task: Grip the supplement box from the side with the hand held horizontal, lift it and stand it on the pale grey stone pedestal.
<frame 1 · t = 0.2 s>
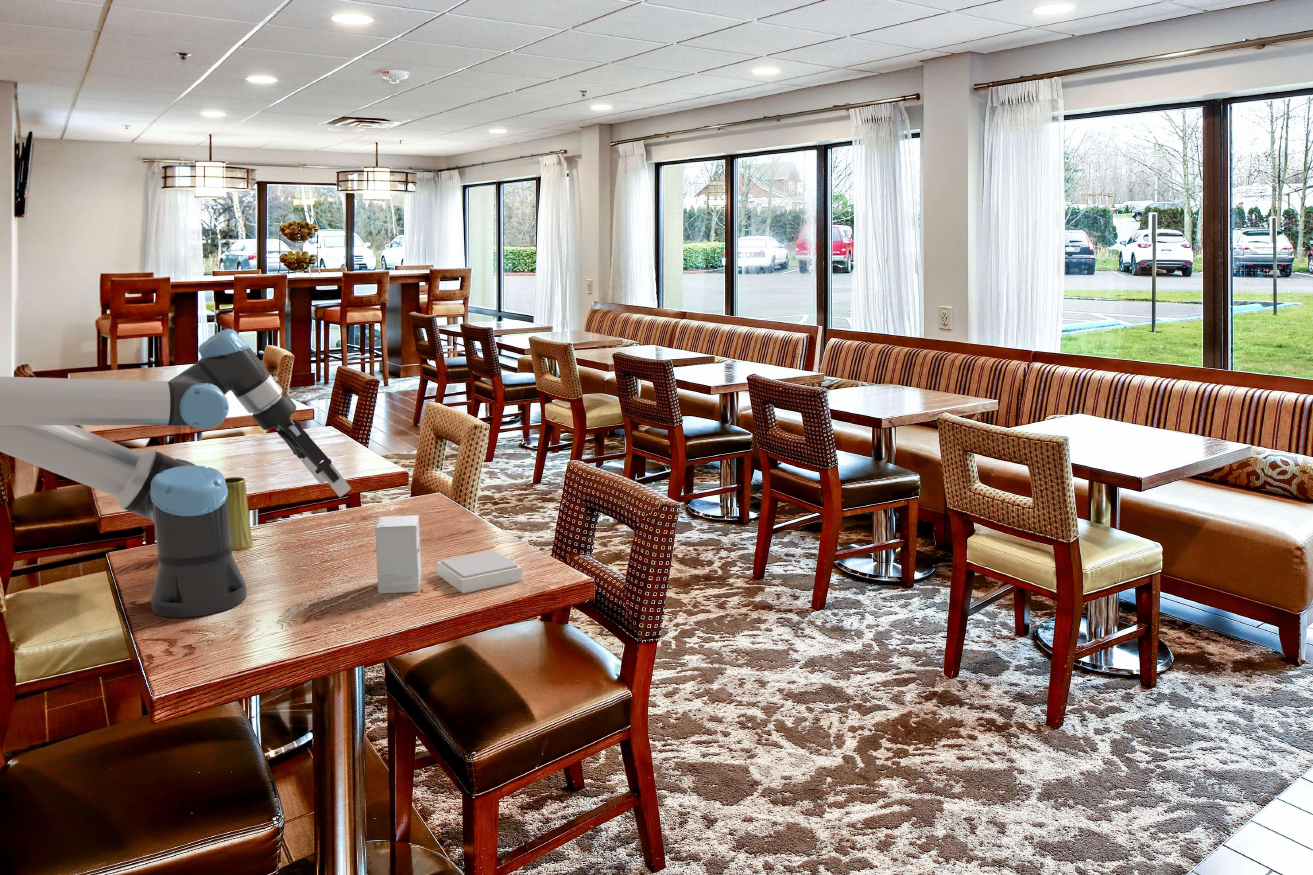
hand: (335, 486, 189), 14 cm above the table, tool tilted 35°, fingers open, 13 cm apart
pedestal: (479, 577, 179), on the table
vase: (237, 547, 197), on the table
supplement box: (400, 587, 175), on the table
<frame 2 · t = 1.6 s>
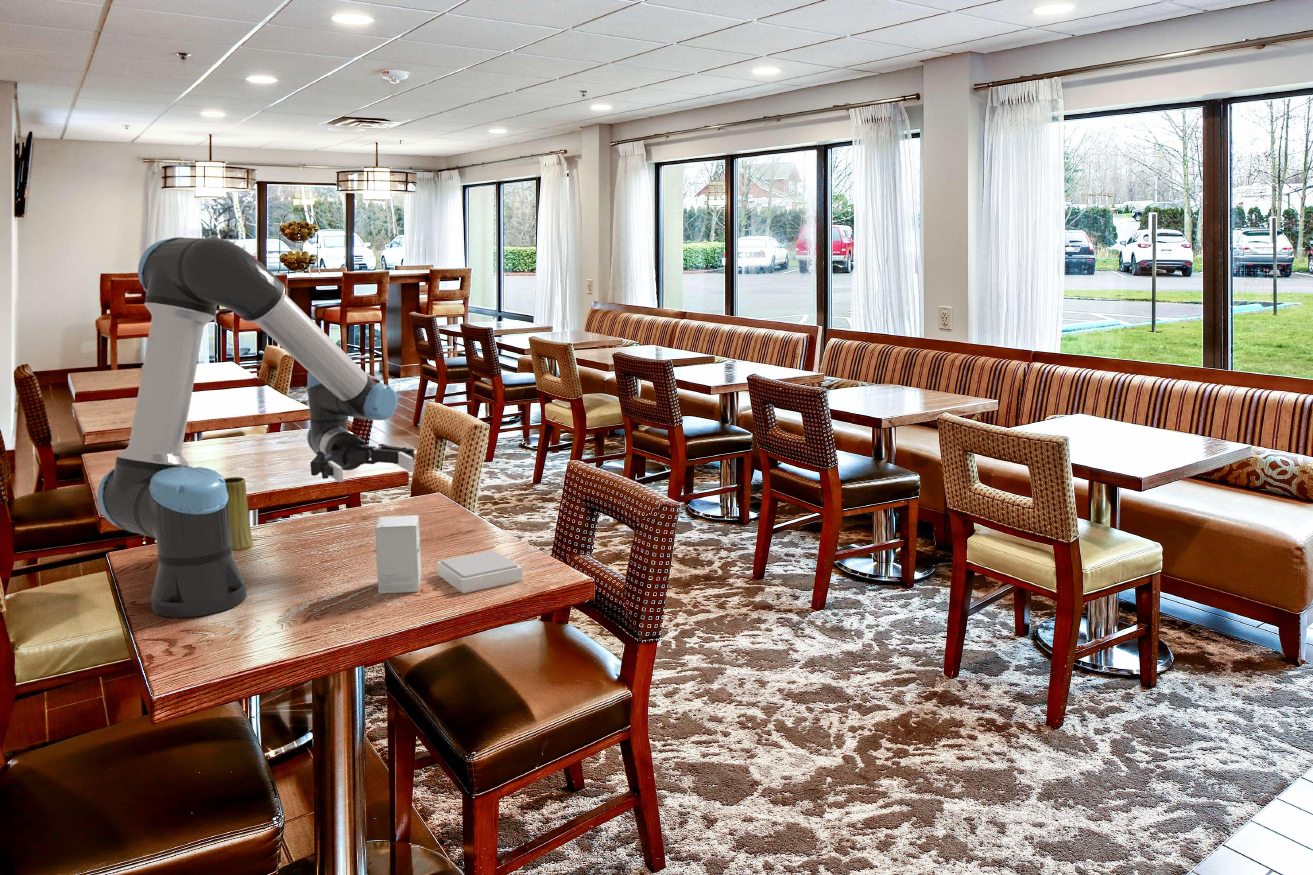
hand: (377, 469, 178), 20 cm above the table, tool horizontal, fingers open, 13 cm apart
nothing on the table moved.
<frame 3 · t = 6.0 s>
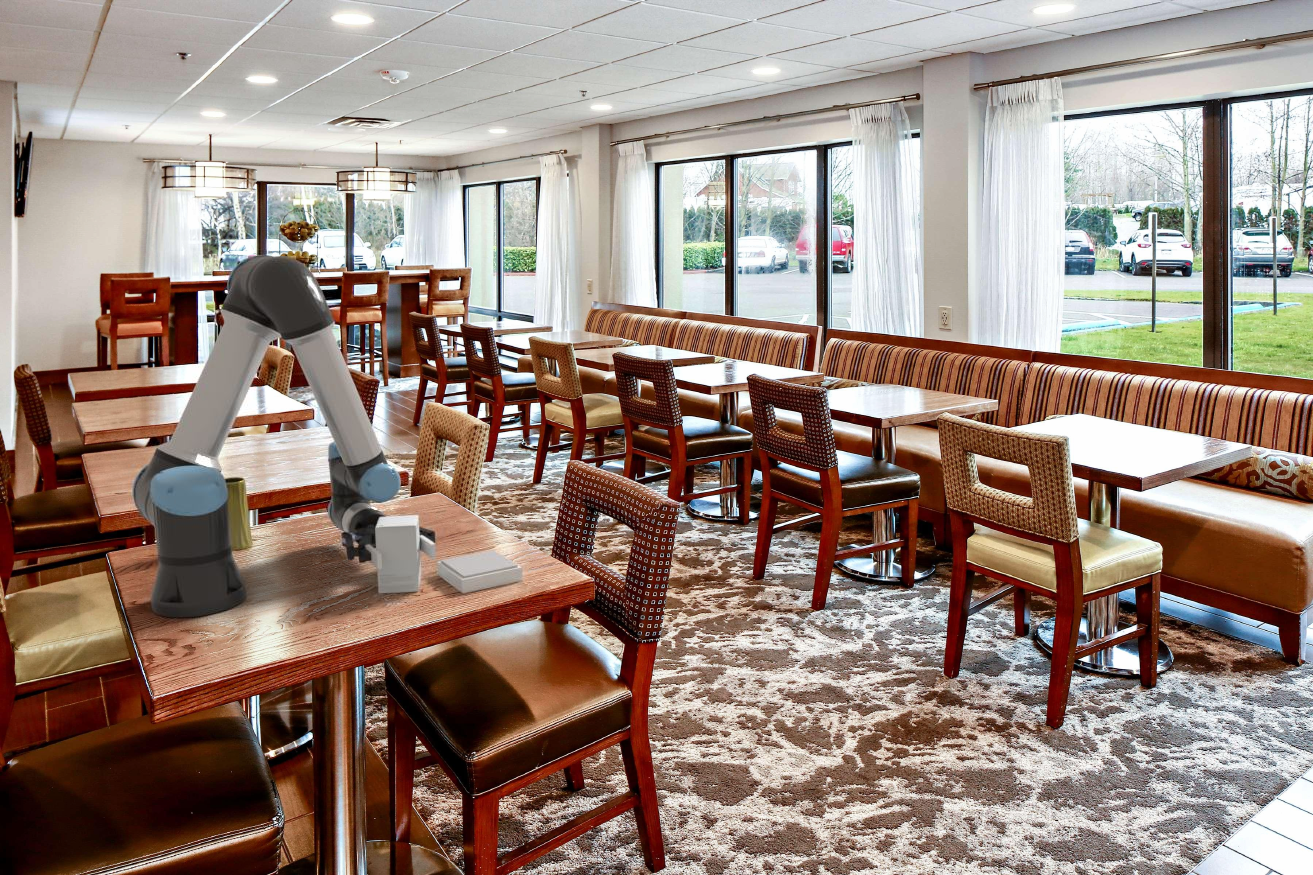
hand: (407, 556, 170), 7 cm above the table, tool horizontal, fingers closed on supplement box, 9 cm apart
supplement box: (400, 587, 175), on the table, touching gripper
everything else where it was.
when the fingers open (11 cm above the table, at t = 10.9 s): supplement box drops 1 cm, resting on pedestal.
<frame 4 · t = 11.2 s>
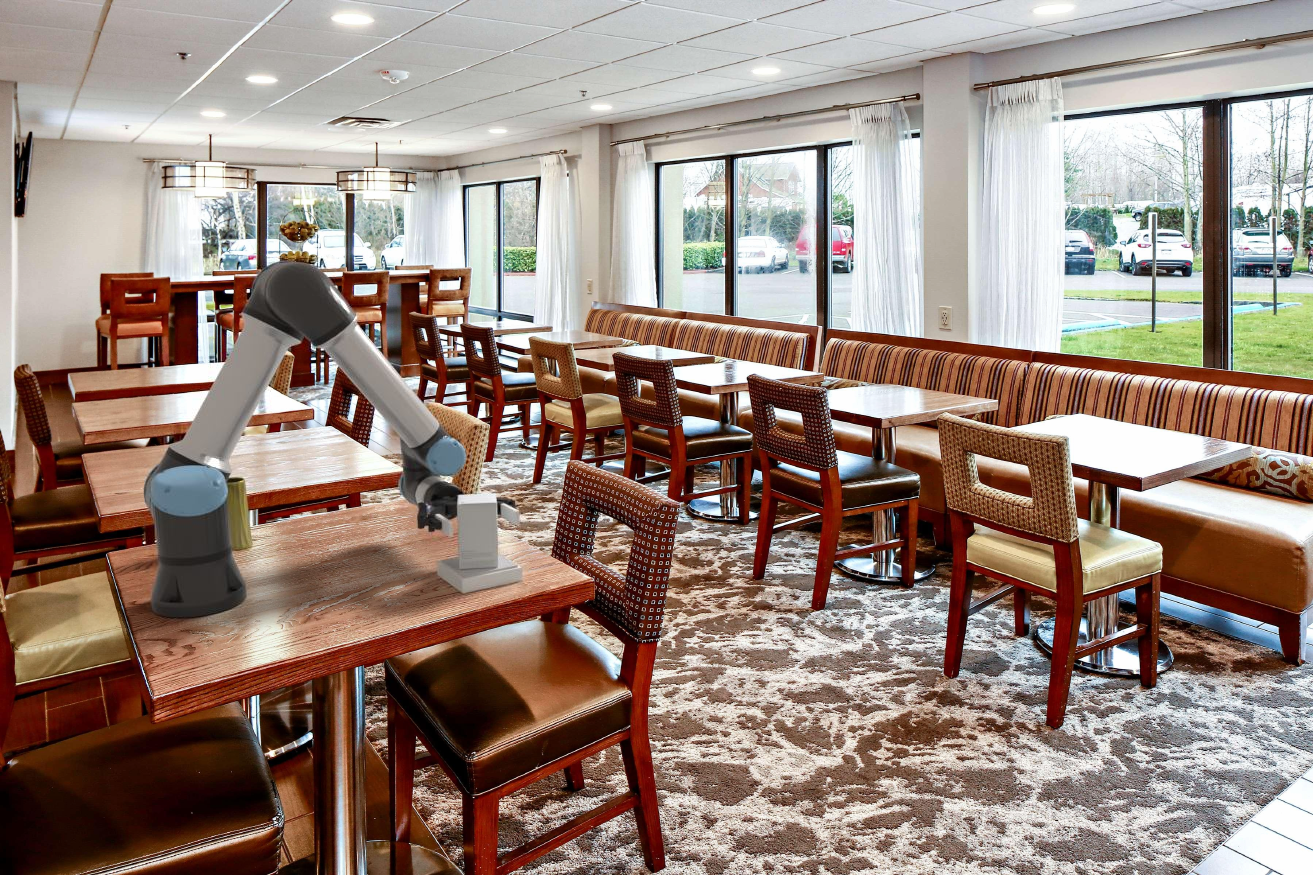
hand: (485, 523, 174), 12 cm above the table, tool horizontal, fingers open, 13 cm apart
supplement box: (479, 563, 179), point 3 cm above the table, touching pedestal
everything else where it was.
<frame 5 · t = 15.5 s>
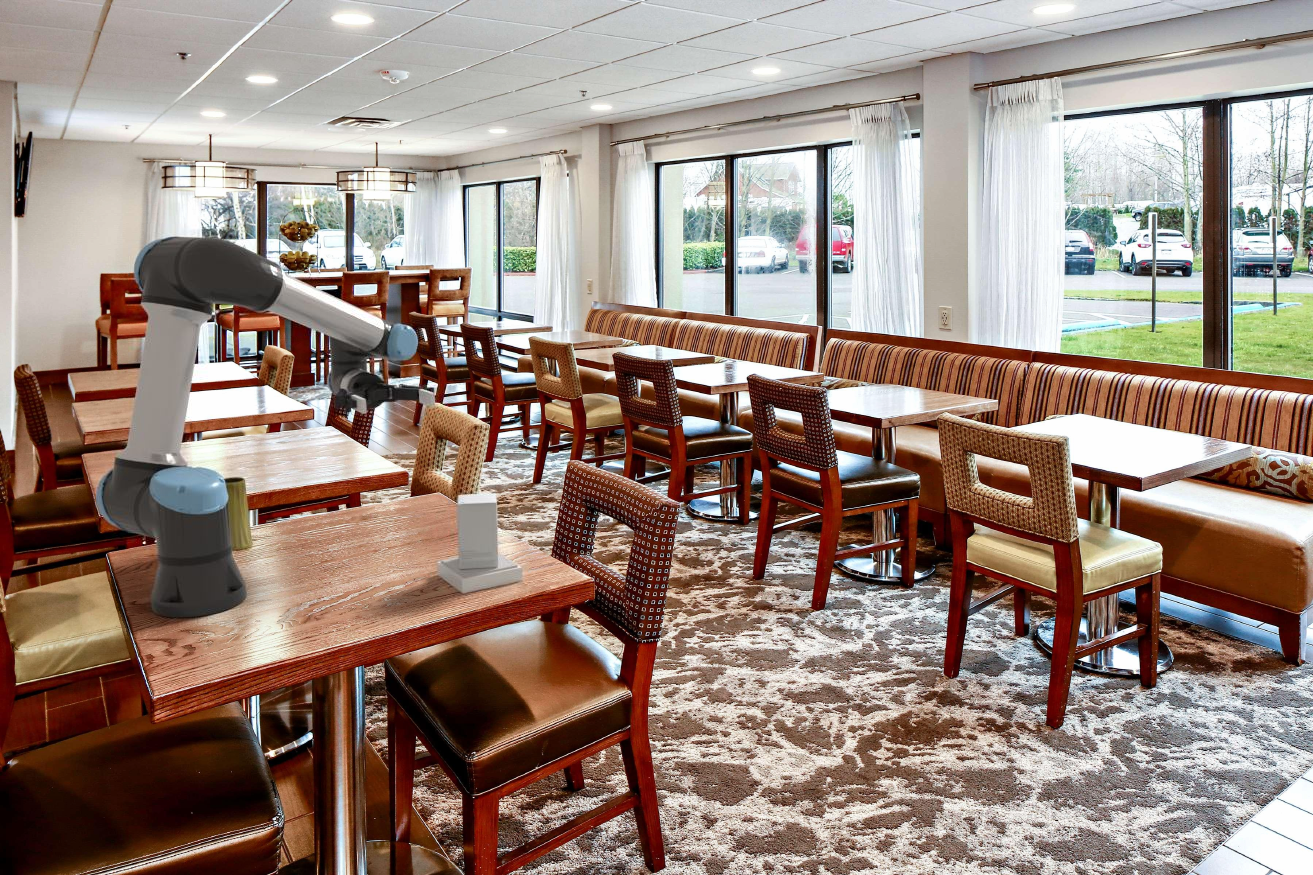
hand: (399, 403, 182), 32 cm above the table, tool horizontal, fingers open, 13 cm apart
nothing on the table moved.
at the end: supplement box inside the target area on the pedestal (0.0 cm from its centre), point 2.8 cm above the pedestal's base; supplement box tilted 0°; the gripper is holding nothing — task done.
